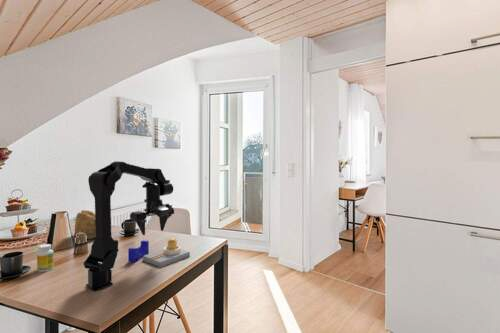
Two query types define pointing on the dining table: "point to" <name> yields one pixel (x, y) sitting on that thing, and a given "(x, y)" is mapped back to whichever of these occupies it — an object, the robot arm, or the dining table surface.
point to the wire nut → (172, 244)
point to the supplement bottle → (45, 258)
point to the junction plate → (166, 256)
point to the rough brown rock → (85, 224)
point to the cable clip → (138, 251)
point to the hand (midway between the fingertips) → (153, 232)
